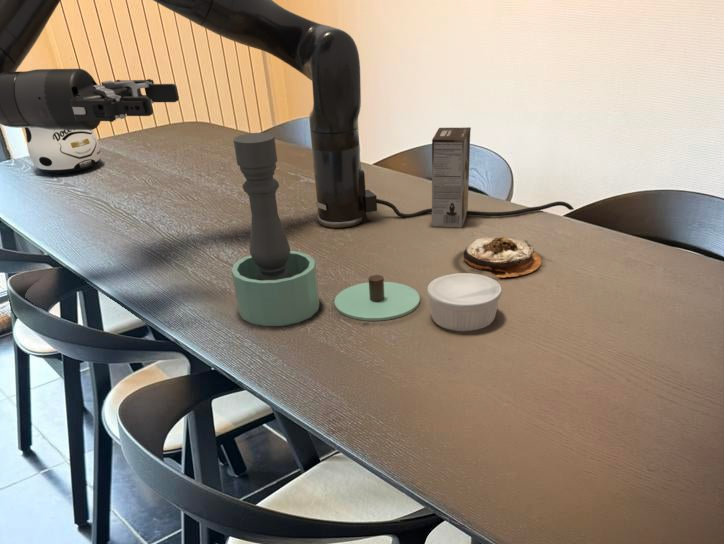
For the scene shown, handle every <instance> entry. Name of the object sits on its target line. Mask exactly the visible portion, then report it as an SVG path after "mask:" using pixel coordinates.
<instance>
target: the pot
mask: <svg viewBox="0 0 724 544" xmlns="http://www.w3.org/2000/svg"><path fill="white" fill-rule="evenodd" d="M286 265H287V266H286V268H285V269H286V270H287V271H288V273H289V274H290V275H291V277H289V278H284V279H279V280H263V281H261V280H256V279H257V278H258V275H259V273H260V272H261V271H259V269H258V266H257V265H256V264H255V262H254V261H253V259H252V257H251V254H250V255H247V256H244V257H242V258H240V259H239V260H237V261H236V262H235V263H234V264H233V266H232V268H231V271H230V272H231V277H232V282H233V289H234V292H235V293H234V294H235V299H236V303H237V304H236V305H237V310H238V314H239V315H240V317H241V319H242V320H243V321H245V322H248V323H250V324H252V325H257V326H262V327H284V326H289V325H293V324H297V323H301V322H303V321H305V320H308V319H310V318H312V317H313V316H314V315H315V314H316V313H317V312H318V311H319V310H320V308H319V307H320V302H321V301H320V294H319V284H318V274H317V264H316V260H315V259H314V258H313V257H312V256H311V255H310V254H307V253H304V252H302V251H296V250H290V256H289V258H288V260H287V262H286Z"/></svg>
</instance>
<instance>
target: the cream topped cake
mask: <svg viewBox="0 0 724 544" xmlns="http://www.w3.org/2000/svg"><path fill="white" fill-rule="evenodd" d="M534 250H535V249H534V247H533V244H530V243H529V240H526V239H520V238H517V237H512V236H490V237H489V236H488V237H480V238H476V239H474V240H473V241H471V242H470V243H468V245H467V246H466V248H465V250H464V251H463V259H464V260H463V262H464V263H465V264H466V265H468V266H469V267H471V268H473V269H478V270H481V271H485V272H489V273H490V274H492V275H493V276H494V277H496V278H497V279H502V278H503V279H505V278H507V277H508V278H511V277H519V276H524V275H527V274H530V273H533V272H534V271H536V270H538V268H539V267H540V266H541V264H542V258H541V257H540V256H539V254H538V253H536V252H535V251H534Z"/></svg>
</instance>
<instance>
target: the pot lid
mask: <svg viewBox="0 0 724 544" xmlns="http://www.w3.org/2000/svg"><path fill="white" fill-rule="evenodd" d="M420 302H421V298H420V294H419V292H418V291H417V290H416V289H415V288H412V286H409V285H406V284H403V283H399V282H394V281H393V282H392V281H385V278H384V276H383V275H380V274H373V275H370V276H368V282H362V283H358V284H354V285H351V286H349V287H346V288H344V289H343V290H341V291H340V292H338V293H337V294H336V296H335V297H334V302H333V303H334V308H335V310H336V311H337V312H338V313H339V314H341V315H343V316H345V317H347V318H350V319H352V320H353V319H354V320H359V321H367V322H380V321H381V322H382V321H389V320H393V319H394V320H395V319H398V318H401V317H402V318H403V317H405V316H407V315H409V314H410V313H412V312H414V311H415V310H416V309H417V308H418V307H419V305H420Z"/></svg>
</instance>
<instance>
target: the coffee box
mask: <svg viewBox="0 0 724 544" xmlns="http://www.w3.org/2000/svg"><path fill="white" fill-rule="evenodd" d="M471 130H472V127H438V129H437V130H436V132H435V134H434V136H433V137H432V139H431V208H432V212H431V227H432V228H433V227H434V228H435V227H438V228H440V227H441V228H462V227H463V226H464V223H465V221H466V218H467V215H466V213H467V211H469V209H468V208H469V184H470V182H469V180H470V155H471V154H470V151H471Z"/></svg>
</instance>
